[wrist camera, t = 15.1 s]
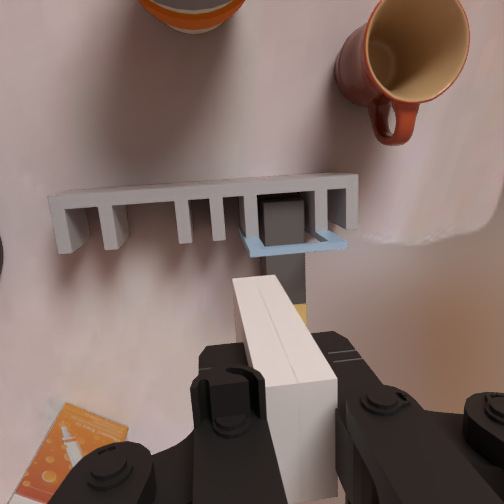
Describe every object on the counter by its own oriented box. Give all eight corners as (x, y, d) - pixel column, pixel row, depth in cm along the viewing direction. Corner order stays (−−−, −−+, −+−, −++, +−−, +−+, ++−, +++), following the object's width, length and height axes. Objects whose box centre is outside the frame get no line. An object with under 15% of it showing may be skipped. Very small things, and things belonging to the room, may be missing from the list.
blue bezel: (238, 232, 43) (250, 257, 33) (238, 227, 43) (249, 250, 32) (313, 226, 44) (347, 248, 33) (313, 220, 44) (347, 241, 33)
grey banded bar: (263, 333, 46) (269, 352, 42) (256, 198, 42) (263, 203, 38) (297, 330, 47) (307, 348, 42) (294, 195, 43) (304, 200, 38)
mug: (325, 22, 39) (367, -23, 29) (409, 24, 40) (477, -18, 30) (322, 147, 42) (358, 145, 32) (399, 146, 43) (458, 144, 33)
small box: (129, 425, 47) (103, 524, 35) (105, 466, 48) (71, 576, 35) (65, 399, 45) (12, 493, 33) (41, 442, 46) (-19, 549, 34)
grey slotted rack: (78, 240, 41) (58, 254, 35) (70, 190, 40) (47, 196, 34) (337, 218, 44) (358, 228, 38) (337, 171, 43) (358, 174, 37)
